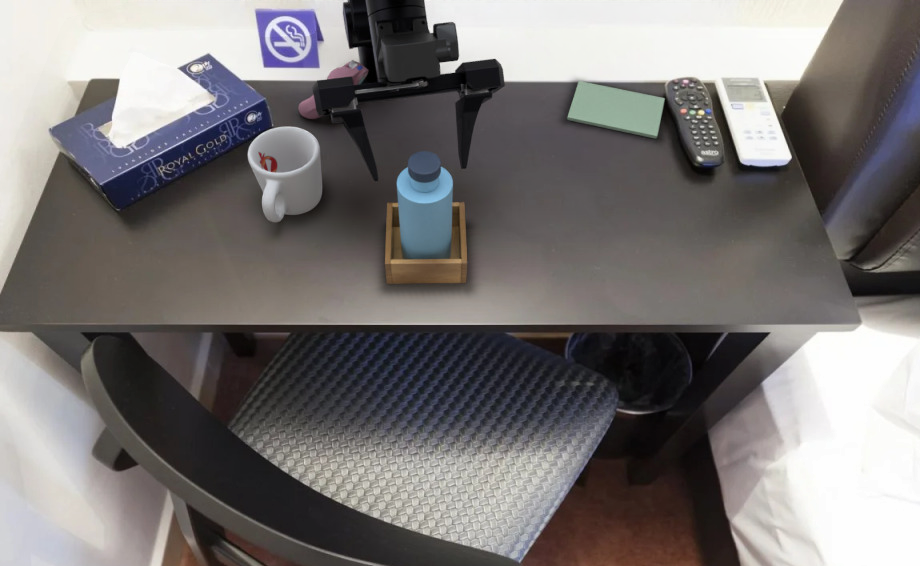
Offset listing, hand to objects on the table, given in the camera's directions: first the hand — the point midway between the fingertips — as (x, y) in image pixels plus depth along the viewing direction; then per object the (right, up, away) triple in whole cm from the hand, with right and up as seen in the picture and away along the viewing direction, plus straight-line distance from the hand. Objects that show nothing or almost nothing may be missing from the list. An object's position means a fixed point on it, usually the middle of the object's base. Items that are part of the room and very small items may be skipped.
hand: (420, 174), depth 69 cm
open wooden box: (0, -8, +7) cm, 11 cm away
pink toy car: (-12, +14, +22) cm, 29 cm away
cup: (-16, -2, +11) cm, 20 cm away
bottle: (0, -7, +7) cm, 10 cm away
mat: (+26, +13, +22) cm, 36 cm away
